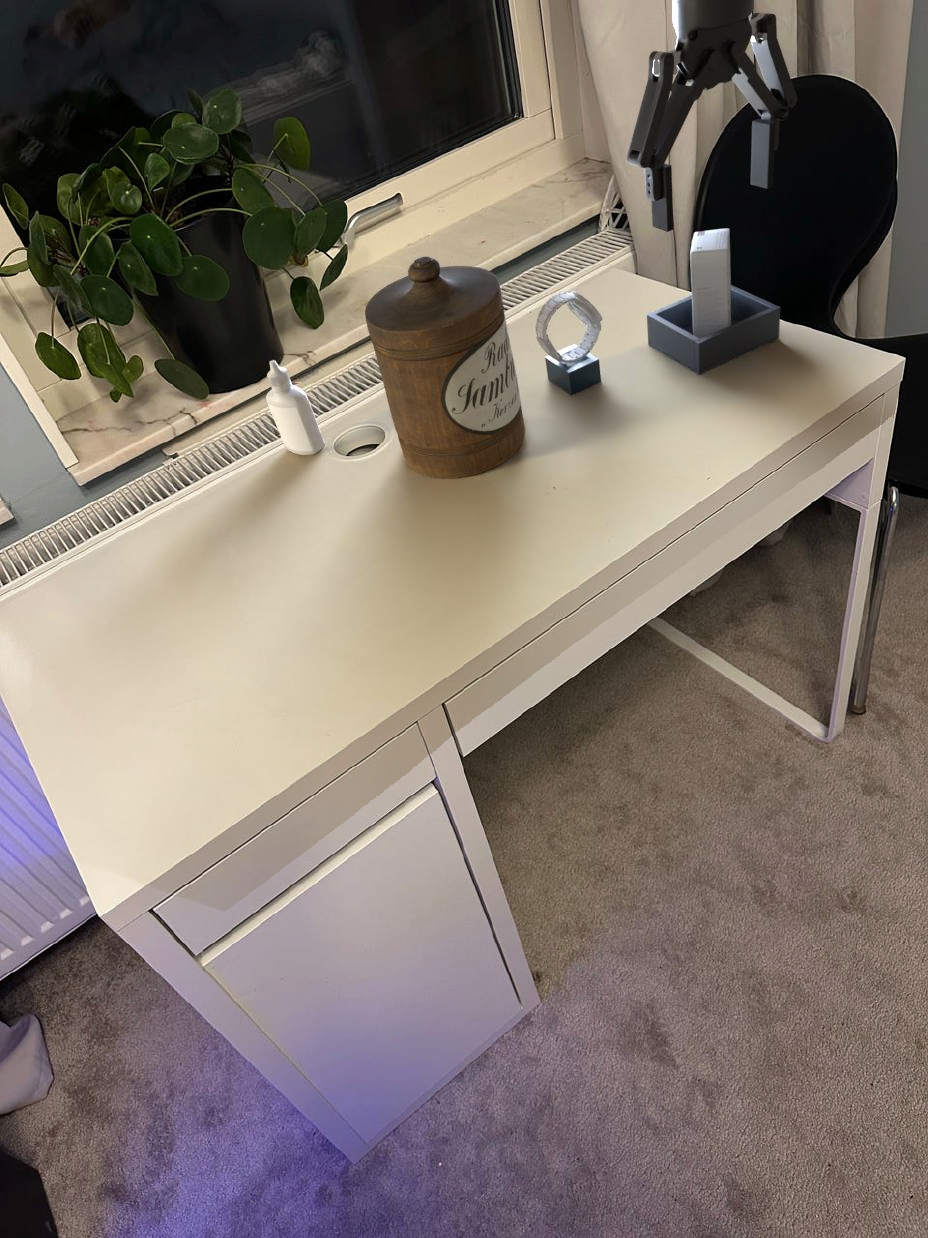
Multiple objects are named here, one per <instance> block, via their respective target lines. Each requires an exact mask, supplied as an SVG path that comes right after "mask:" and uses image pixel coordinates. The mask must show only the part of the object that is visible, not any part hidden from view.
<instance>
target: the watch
mask: <svg viewBox="0 0 928 1238" xmlns="http://www.w3.org/2000/svg"><path fill="white" fill-rule="evenodd" d="M565 305H567V307H568V310H570V312H572V314H573V315H574V316H576V318H578V320H579V321H581V322H582V323H583V324H584V325H585V326H586V328H585V331H584V335H583V337H582V339H581V340H580V342H579V343H578V344H576V343H573V344H571V345H569V346H566V347H564V348H562V349H560V350H557V349H556V348H555V346H554V345H553V343H552V340H550V338H549V335H548V332H547V331H548V328H549V327H548V326H549V323H550V322H551V319H552V317H553V316H554V315H555V314H556V312H557V311H558V310H559V309H560V308H561V307H563V306H565ZM601 321H603V316H602V315H601V313H600V311H599V310H598V309H597V308H596V307H595V306H594V305H593V303H591V301H589V300H588V299H587V298H586V297H585V296H583V295H582V294H581V293H579V292H578V291H575V290H571V291H570V293H569V292H567V291H562V292H559V293H557V294H555V295H553V296H552V297H550V298H549V299H548V300H546V302H545V303H544V304H543V306H542V307H541V308H540V311H539V313H538V315H537V318H536V321H535V335H536V336H535V340H536V341H537V343H538V345H539V346H540V348H541V349H542V350H543V351H544V353H546V355H547V356H544V359H545V360H544V361H545V367H546V374H547V380H548V381H550V382H551V383H553V385H555V386H556V387H559V388H560V389H561V390H562V391H563V392H565V393H566V394H568V395H570V396H574V395H577V394H579V393H581V392H583V391H585V390H588V389H590V388H592V387H594V386H596V385H599V384H600V383H602V375H601V365H600V358H598V357H596V356H595V355H593V354H591V353H590V352H591V351H592V350H593V348H594V347H595V345H596V343H597V341H598V339H599V335H600V332H601V331H602V323H601Z"/></svg>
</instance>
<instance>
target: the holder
mask: <svg viewBox="0 0 928 1238" xmlns="http://www.w3.org/2000/svg"><path fill="white" fill-rule="evenodd" d="M780 321H781V306H778V305H777V304H774V303H772V302H771V301H770V302H769V301H767V300H766V299H764V298H761V297H759V296H756V295H754V294H753V293H750V292H748V291H746V290H743V289H741V288H739V287H736V286H735V285H732V284H731V326H729V327H726V328H724V329H722V330H720V331H717V332H715V333H713V334H711V335H708V336H706V337H704V338H702V339H699V338H697V337H696V336H694V335H693V317H692V294H691V295H688V296H686V297H684V298H682V299H679V300H677V301H675V302H673V303H670V304H668V305H665V306H663V307H660V308H659V309H656V310H654V311H652V312H649V313H647V314H646V326H647V327H646V329H647V345H649V346H650V347H651V348H653V349H655V350H657V351H658V352H660V353H662V354H663V355H665V356H666V357H668V358H669V359H672V360H673V361H675V362H676V363H678V364H680V365H681V366H683V367H684V368H687V369H688V370H690V371H691V372H693V373H695V374H696V375H698V376H700V375H702V374H705V373H708V372H709V371H712V370H714V369H716V368H719V367H720V366H723V365H726V364H727V363H729V362H732V361H734V360H736V359H738V358H740V357H742V356H745V355H747V354H749V353H751V352H753V351H756V350H758V349H760V348H762V347H765V346H766V345H767V346H768V345H769V344H772V343H773V342H776V341H778V340H779V339H780V323H781V322H780Z"/></svg>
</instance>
